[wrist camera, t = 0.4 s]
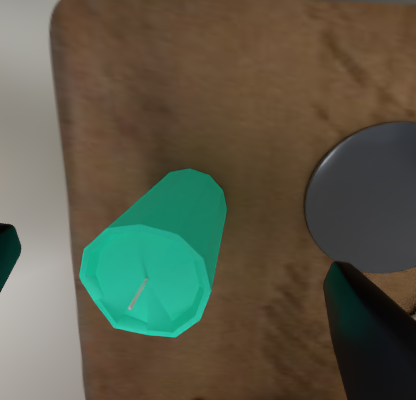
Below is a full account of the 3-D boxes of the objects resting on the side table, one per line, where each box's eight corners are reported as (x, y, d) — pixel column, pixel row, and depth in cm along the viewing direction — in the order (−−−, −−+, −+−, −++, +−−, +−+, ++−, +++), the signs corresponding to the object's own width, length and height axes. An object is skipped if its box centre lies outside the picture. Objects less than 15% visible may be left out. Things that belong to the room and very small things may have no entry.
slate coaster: (499, 223, 20) (506, 226, 20) (349, 292, 23) (352, 296, 23) (429, 85, 18) (434, 84, 18) (275, 181, 21) (275, 183, 21)
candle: (150, 165, 22) (48, 231, 11) (229, 171, 21) (209, 247, 10) (151, 237, 24) (66, 357, 13) (224, 244, 23) (202, 377, 12)
